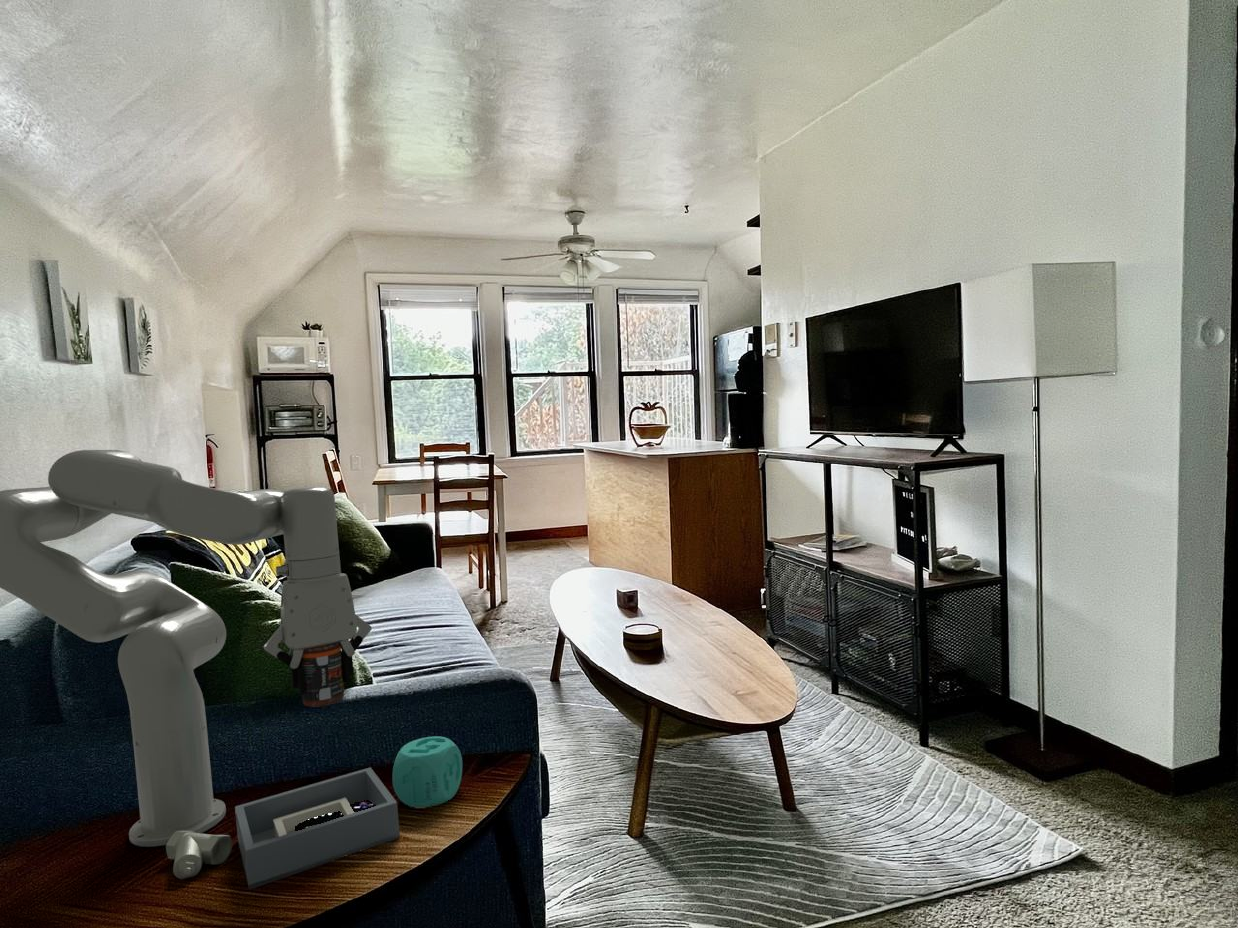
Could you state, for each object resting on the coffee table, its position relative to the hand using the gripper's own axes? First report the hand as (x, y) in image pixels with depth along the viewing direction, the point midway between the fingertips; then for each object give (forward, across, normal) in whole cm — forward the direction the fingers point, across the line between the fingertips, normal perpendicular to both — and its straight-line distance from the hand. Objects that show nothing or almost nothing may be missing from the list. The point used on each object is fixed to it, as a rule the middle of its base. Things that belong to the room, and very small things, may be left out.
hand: (323, 685), depth 112 cm
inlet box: (+19, -4, -7) cm, 21 cm away
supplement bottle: (+3, 0, 0) cm, 3 cm away
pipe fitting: (+20, -19, -2) cm, 28 cm away
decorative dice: (+20, +13, -6) cm, 24 cm away
